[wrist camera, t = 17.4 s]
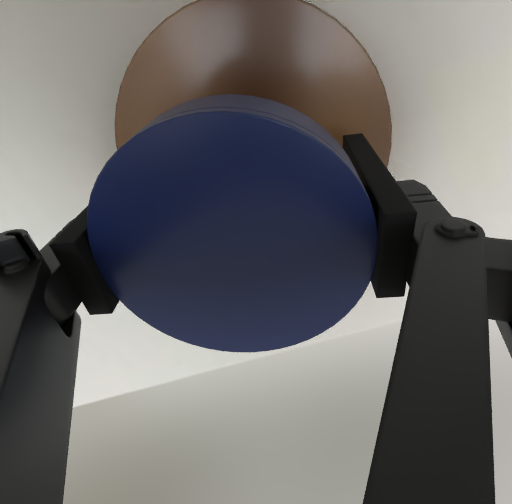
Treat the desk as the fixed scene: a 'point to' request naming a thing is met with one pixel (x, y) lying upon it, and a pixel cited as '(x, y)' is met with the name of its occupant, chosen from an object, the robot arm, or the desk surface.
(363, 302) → the desk surface
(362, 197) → the lid
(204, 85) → the coaster
